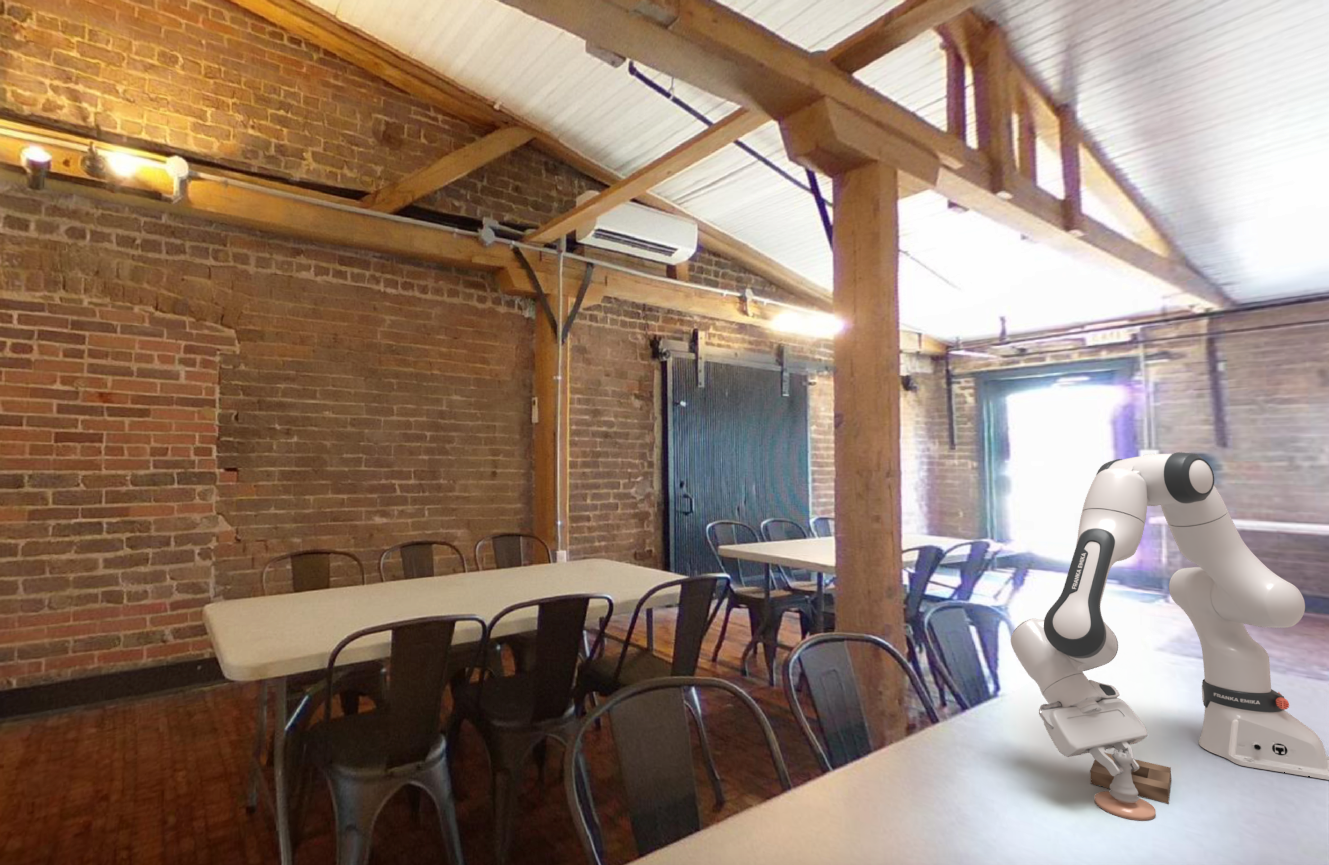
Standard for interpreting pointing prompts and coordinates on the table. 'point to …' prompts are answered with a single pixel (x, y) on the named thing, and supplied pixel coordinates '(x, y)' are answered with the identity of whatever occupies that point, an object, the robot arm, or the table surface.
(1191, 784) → the table surface
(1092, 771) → the socket block
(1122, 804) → the coaster
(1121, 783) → the rook chess piece
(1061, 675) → the robot arm
